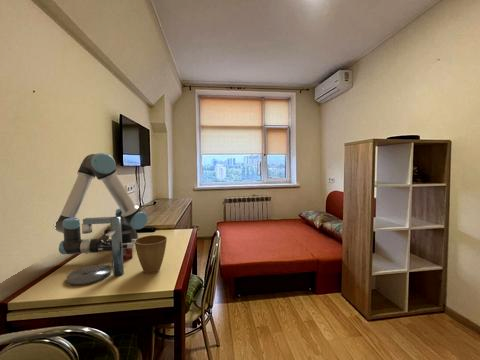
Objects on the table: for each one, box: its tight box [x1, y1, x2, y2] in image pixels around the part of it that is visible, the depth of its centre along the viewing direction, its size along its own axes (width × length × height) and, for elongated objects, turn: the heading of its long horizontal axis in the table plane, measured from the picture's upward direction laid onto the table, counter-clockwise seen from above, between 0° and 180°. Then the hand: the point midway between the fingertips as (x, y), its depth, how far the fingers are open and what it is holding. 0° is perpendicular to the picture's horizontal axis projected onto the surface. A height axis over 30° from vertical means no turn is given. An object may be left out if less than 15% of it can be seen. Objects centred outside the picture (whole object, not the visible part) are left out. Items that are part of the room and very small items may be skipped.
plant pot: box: [134, 234, 168, 275], centre depth 118 cm, size 15×15×16 cm
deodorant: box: [122, 231, 134, 262], centre depth 134 cm, size 6×6×15 cm
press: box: [66, 215, 125, 287], centre depth 111 cm, size 28×19×28 cm
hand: (135, 243), depth 135 cm, fingers closed on deodorant, 6 cm apart
